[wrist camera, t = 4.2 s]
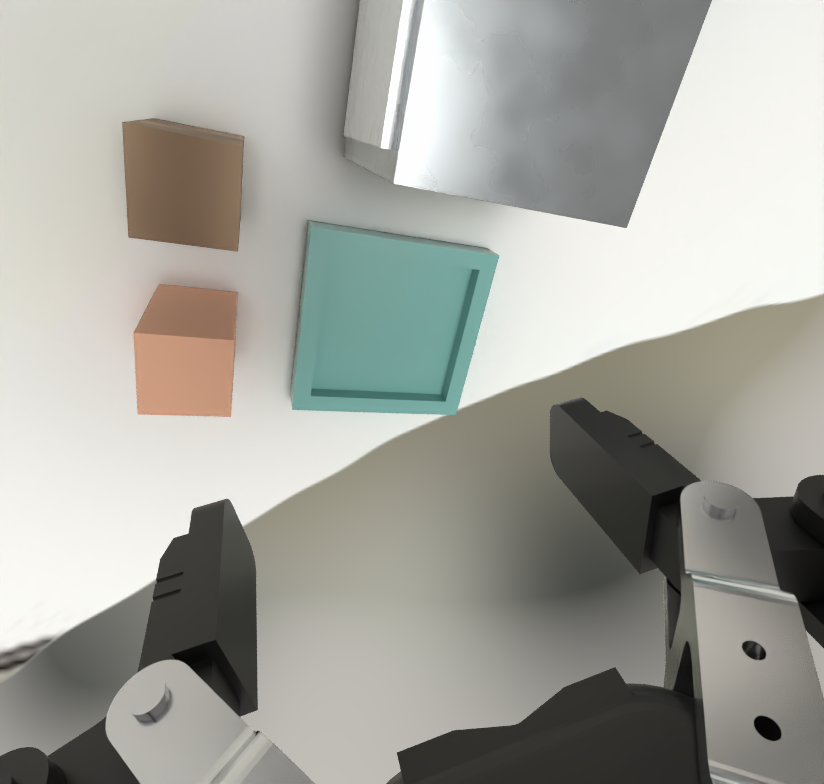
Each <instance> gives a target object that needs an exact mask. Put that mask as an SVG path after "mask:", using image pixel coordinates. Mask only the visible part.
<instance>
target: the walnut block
mask: <svg viewBox="0 0 824 784" xmlns="http://www.w3.org/2000/svg"><path fill="white" fill-rule="evenodd" d="M122 126H123V144H124V162H125V181H126V199H127V218H128V236H129V237H130V238H138V239H145V240H153V241H161V242H169V243H176V244H184V245H192V246H200V247H208V248H215V249H223V250H231V251H238V243H239V231H240V218H241V195H242V171H243V147H244V136H239V135H234V134H229V133H224V132H219V131H214V130H209V129H204V128H199V127H194V126H189V125H184V124H179V123H175V122H170V121H165V120H160V119H155V118H153V119H145V120H137V121H129V122H122Z"/></svg>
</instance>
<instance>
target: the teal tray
mask: <svg viewBox="0 0 824 784" xmlns="http://www.w3.org/2000/svg"><path fill="white" fill-rule="evenodd" d="M498 258H499V255H498V254H496V253H494V252H493V251H491V250H489V249H488V248H482V247H476V246H469V245H463V244H457V243H450V242H444V241H437V240H431V239H424V238H418V237H412V236H405V235H399V234H392V233H386V232H380V231H373V230H367V229H360V228H354V227H347V226H341V225H335V224H328V223H322V222H315V221H309V220H308V227H307V237H306V247H305V257H304V267H303V277H302V287H301V296H300V306H299V316H298V326H297V336H296V346H295V356H294V366H293V376H292V386H291V403H292V410H317V411H348V412H380V413H411V414H443V415H456V413H457V409H458V405H459V402H460V398H461V394H462V390H463V387H464V383H465V379H466V376H467V372H468V368H469V365H470V361H471V357H472V354H473V350H474V346H475V343H476V339H477V335H478V332H479V328H480V324H481V321H482V317H483V313H484V310H485V306H486V302H487V299H488V295H489V291H490V288H491V284H492V280H493V277H494V273H495V269H496V265H497V262H498Z"/></svg>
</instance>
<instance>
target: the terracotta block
mask: <svg viewBox="0 0 824 784" xmlns="http://www.w3.org/2000/svg"><path fill="white" fill-rule="evenodd" d="M236 312H237V292H230V291H221V290H211V289H202V288H192V287H183V286H174V285H164V284H159V285H158V287H157V289H156V291H155V293H154V295H153V296H152V298H151V300H150V302H149V304H148V306H147V308H146V310H145V312H144V314H143V316H142V318H141V320H140V322H139V324H138V326H137V327H136V329H135V331H134V349H135V368H136V388H137V408H138V414H150V415H186V416H223V417H231V404H232V388H233V372H234V356H235V334H236Z"/></svg>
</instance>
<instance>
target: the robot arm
mask: <svg viewBox="0 0 824 784" xmlns="http://www.w3.org/2000/svg"><path fill="white" fill-rule="evenodd" d="M550 458H551V462H552V465H553V467H554V470H555V472H556V473H557V475H558V476H559V478H560V479H561V480H562V481H563V483H564V484H565V485H566V486H567V487H568V489H569V490H570V491H571V492H572V493H573V495H575V497H576V498H577V499H578V501H580V503H581V504H582V505H583V506H584V507H585V509H586V510H587V511H588V513H589V514H590V515H591V516H592V517H593V518H594V520H595V521H596V522H597V523H598V524H599V526H600V527H601V528H602V529H603V530H604V532H605V533H606V534H607V535H608V536H609V538H610V539H611V540H612V541H613V542H614V544H615V545H616V546H617V547H618V548H619V550H620V551H621V552H622V553H623V554H624V556H625V557H626V558H627V559H628V560H629V562H630V563H631V564H632V565H633V566H634V568H635V569H636V570H637V571H638V572H639V574H642V573H644V572H647V571H650V570H653V569H655V568H659V569H660V571H661V572H662V573H663V574H664V575H665V578H664V585H663V586H664V622H665V655H666V657H665V659H666V660H665V661H666V662H665V676H664V687H663V688H662V687H658V686H652V685H646V684H626V683H625V682H624V680H623V679H622V677H621V676H620V674H619V673H618V671H617V670H616V668H612V669H610V670H607V671H604V672H602V673H599V674H597V675H594V676H592V677H589V678H587V679H584V680H581V681H579V682H576V683H574V684H571V685H569V686H566V687H564V688H563V689H562V690H560V691H559V692H558V693H557V694H555V695H554V696H553V697H552V698H550V699H549V700H548V701H547V702H545V703H544V704H543V705H542V706H540V707H539V708H538V709H537V710H535V711H534V712H533V713H532V714H531V715H529V716H528V717H527V718H526V719H524V720H523V721H522V722H520V723H519V724H516V725H511V726H500V727H490V728H477V729H466V730H454V731H451V732H449V733H446V734H444V735H441V736H438V737H436V738H433V739H431V740H428V741H426V742H423V743H421V744H418V745H415V746H413V747H410V748H408V749H405V750H403V751H400V752H397V755H398V760H399V764H400V769H401V772H399V773H398V774H397V775H396V776H394V777H393V778H392V779H391V780H389V782H388V783H387V784H824V698H823V694H822V690H821V686H820V683H819V679H818V675H817V671H816V668H815V664H814V660H813V656H812V653H811V649H810V646H809V642H808V638H807V634H806V631H807V632H808V633H809V634H810V635H811V636H812V637H813V638H814V639H815V640H816V641H817V642H818V643H819V644H820V645H821V646H822V647H823V648H824V475H815V476H810V477H807V478H805V479H803V480H802V481H801V482H800V483H799V484H798V487H797V490H796V493H795V495H794V497H774V498H752V497H751V496H750V495H748V494H747V493H745V492H744V491H742V490H741V489H739V488H736V487H734V486H732V485H729V484H725V483H721V482H715V481H701V480H700V479H699V478H697V477H696V476H695V475H694V474H693V473H691V472H690V471H689V470H688V469H686V468H685V467H684V466H683V465H682V464H680V463H679V462H678V461H677V460H676V459H674V458H673V457H672V456H671V455H670V454H668V453H667V452H666V451H665V450H663V449H662V448H661V447H660V446H659V445H658V444H656V445H655V444H654V441H653V440H651V439H650V438H649V437H648V436H647V435H645V434H642V431H641V430H639V429H638V428H637V427H635V426H634V425H633V424H632V423H631V422H630V421H629V420H627V419H625V418H623V417H620V416H618V415H616V414H613V413H611V412H609V411H604V412H600V411H598V410H597V409H596V408H595V407H594V406H593V405H591V404H590V403H589V402H588V401H587V400H585V399H584V398H577V399H573V400H570V401H567V402H563V403H560V404H556V405H553V406H552V408H551V411H550ZM156 581H157V584H156V585H155V589H154V594H153V602H152V604H151V609H150V614H149V619H148V624H147V629H146V634H145V639H144V644H143V649H142V654H141V660H140V664H139V668H138V672H137V674H136V675H135V676H133V677H132V678H131V679H130V680H129V681H128V682H127V683H126V684H125V685H124V686H123V687H122V688H121V690H120V691H119V692H118V694H117V695H116V697H115V698H114V700H113V702H112V704H111V706H110V708H109V711H108V714H107V716H106V717H105V718H104V719H103V720H102V721H100V722H99V723H97V724H96V725H95V726H93V727H92V728H91V729H89V730H87V731H86V732H84V733H82V734H81V735H79V736H78V737H76V738H75V739H73V740H72V741H70V742H69V743H67V744H65V745H64V746H62V747H61V748H59V749H58V750H56V751H55V752H53V753H52V754H50V755H49V756H47V755H45V754H44V753H43V752H42V751H40V750H39V749H36V748H33V747H26V748H19V749H16V750H13V751H10V752H8V753H6V754H4V755H2V756H0V784H315V783H314V782H313V781H311V780H310V778H309V777H308V776H307V775H306V774H305V773H304V772H303V771H302V770H301V769H299V768H298V767H297V766H296V765H295V764H294V763H293V762H292V761H291V760H290V759H289V758H288V757H287V756H286V755H285V754H284V753H283V752H282V751H281V750H280V749H279V748H278V747H277V746H276V745H275V744H274V743H273V742H272V741H271V740H270V739H269V738H267V737H266V736H265V735H264V734H263V733H262V732H260V731H257V732H255V731H254V730H252V729H251V728H250V727H249V726H248V725H247V724H246V723H245V722H244V721H243V720H242V719H241V718H240V716H242V715H245V714H248V713H251V712H254V711H256V710H257V709H258V702H257V701H258V700H257V625H256V624H257V622H256V566H255V560H254V556H253V551H252V548H251V545H250V543H249V540H248V539H247V536H246V534H245V532H244V529H243V527H242V525H241V523H240V521H239V518H238V516H237V514H236V512H235V510H234V507H233V505H232V503H231V502H230V500H229V499H224V500H221V501H217V502H214V503H211V504H207V505H204V506H200V507H197V508H194V509H193V511H192V514H191V521H190V528H189V534H186V535H183V536H179V537H176V538H174V539H173V540H172V542H171V543H170V545H169V546H168V548H167V549H166V551H165V553H164V554H163V556H162V557H161V559H160V563H159V568H158V573H157V578H156Z"/></svg>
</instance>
